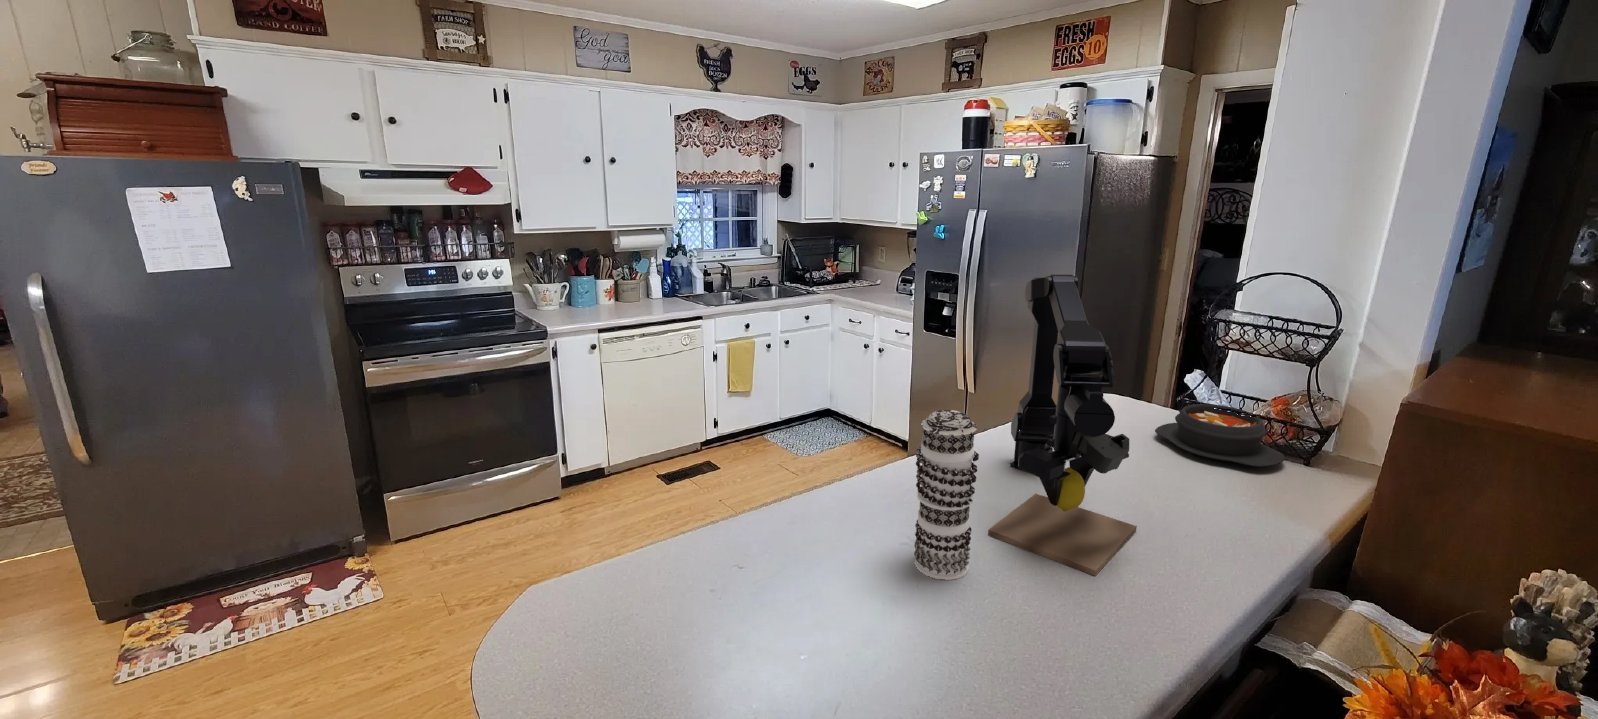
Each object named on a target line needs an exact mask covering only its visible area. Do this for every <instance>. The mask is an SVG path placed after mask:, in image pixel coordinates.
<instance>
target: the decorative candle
mask: <svg viewBox="0 0 1598 719" xmlns="http://www.w3.org/2000/svg"><path fill="white" fill-rule="evenodd" d="M920 425H921V427H922V438H921V444H920V446H919V447H917V448H916V453H915V456H916V461H915V466H916V467H917V470H916V476H915V478H916V479H917V480H916V484H915V487H916V488H917V495H916V497H917V499H918V501H919V509H918V511H917V512H918V515H917V520H916V522H915V529H916V530H915V531H916V532H915V534H914V536H915V538H916V539H915V541H914V543H913V544H914V546H913V547H914V549H915V550H914V553H913V555H914V564H915V565H916V566H915V565H914V566H915V568H916V567H917V568H916V569H918V570H919V571H920V573H921V572H922V573H924V574H925V575H926V577H928V576H931V577H933V578H932V579H934V578H935V580H939V579H945V580H944V581H952V580H958V579H960V578H962V577H965V575H967V573H968V572H969V571H970V570H969V564H970V562H969V560H970V559H971V557H970V552H969V551H971V547H970V546H969V545H970V544H971V540H972V537H971V534H972V533H971V532H972V530H973V529H972V527H971V525H970V523H971V516H970V506H971V504H972V503H973V502H974V497H973V496H974V494H975V493H976V492H975V490H976V489H975V487H974V486H973V483H976V482H977V476H976V475H975V473H977V472H978V465H976V464H975V463H974V462H976V461H978V460H980V454H979V453H978V452H977V451H976V450H975V443H974V441H975V440H974V439H975V432H976V431H977V430H978V425H977V424H976V423H975V422H973V421H972V420H971V418H970V417H969V415H967V414H966V413H963V412H961V411H958V410H953V409H951V410H950V409H941V410H935V411H933V412H932V413H930V414H929V416H927V417H926V418H925V419H923V420H922V421H921V424H920ZM972 461H973V462H972ZM921 464H922V465H921ZM918 570H917V571H918ZM919 571H918V572H919ZM922 573H921V574H922ZM924 574H923V575H924ZM925 575H924V576H925ZM931 577H930V578H931Z"/></svg>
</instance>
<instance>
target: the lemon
mask: <svg viewBox="0 0 1598 719" xmlns="http://www.w3.org/2000/svg"><path fill="white" fill-rule="evenodd" d="M1065 471H1066V472H1068V473H1070V474H1071V475H1070V476H1068V477H1066V478H1065V479H1063V482H1062V487H1061V492H1060V497H1059V501H1058V504H1057V505H1056V506H1057V507H1059V508H1061V509H1062V510H1063V511H1064V512H1067V511H1068V510H1072V509H1075V508H1077V507H1079V506H1081V505H1082V503H1083V501H1084V498H1085V494H1086V486H1085V485H1084V480H1083V478H1082V476H1081V475H1080V474H1079V473H1078V472H1077V471H1075V470H1073V469H1072V468H1070V466H1068V467H1065Z"/></svg>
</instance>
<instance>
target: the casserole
mask: <svg viewBox="0 0 1598 719" xmlns="http://www.w3.org/2000/svg"><path fill="white" fill-rule="evenodd" d="M1216 407H1218V408H1223V409H1231V410H1237V411H1241V412H1246V413H1248V414H1250V415H1253V414H1254V413H1253V412H1249V411H1246V410H1243V409H1240V408H1235V407H1232V406H1225V405H1220V404H1209V403H1208V404H1207V403H1199V404H1189V405H1186V406H1184V407H1182V409H1180V412H1178V414H1176V415H1175V416H1174V420H1175V422H1170V423H1165V424H1161V425H1159V426H1158V427H1156V428H1155V429H1154V432H1155V434H1156V435H1158V436H1159V437H1162V438H1163V439H1165V440H1168V441H1169V442H1171V443H1172V444H1174V445H1175V446H1176V447H1178V448H1180V449H1182V450H1184V451H1186V452H1189V453H1191V454H1193V455H1196V456H1199V457H1202V458H1204V459H1205V458H1206V459H1209V460H1210V459H1211V460H1214V461H1215V460H1216V461H1222V462H1233V463H1237V464H1241V465H1245V466H1248V467H1249V466H1250V467H1257V468H1263V467H1264V468H1265V467H1272V466H1276V465H1279V464H1281V463H1283V462H1284V461H1285V455H1284V454H1283V453H1282V452H1280V451H1278V450H1277V449H1274V448H1272V447H1270V446H1267V445H1265V444H1264V443H1262V442H1261V441H1262V439H1263V437H1265V436H1267V433H1268V431H1267V429H1266V427H1264V422H1263V420H1262V418H1261V417H1259V416H1258V417H1259V418H1258V417H1250V416H1241V415H1237V414H1236V413H1233V412H1227V411H1226V410H1219V409H1214V408H1216ZM1260 418H1261V419H1260ZM1261 443H1262V444H1261Z"/></svg>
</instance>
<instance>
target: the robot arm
mask: <svg viewBox="0 0 1598 719" xmlns="http://www.w3.org/2000/svg"><path fill="white" fill-rule="evenodd" d="M1078 289H1079V279H1078V276H1077V275H1073V274H1060V273H1059V274H1058V273H1057V274H1055V273H1052V274H1050V275H1046V276H1044V277H1033V278H1032V279H1030V280H1029V281H1028V282H1027V283H1026V285H1025V292H1024V295H1025V296H1024V297H1025V302H1027V307H1026V308H1027V309H1028V310H1029V311H1028V312H1030V314H1031V316H1032V318H1033V321H1034V323H1033V324H1034V325H1033V327H1034V328H1033V335H1032V336H1033V337H1032V347H1031V359H1030V369H1029V380H1028V381H1029V382H1028V388H1027V389H1028V391H1027V392H1026V394H1024V396H1023V397H1022V398H1021V399H1020V401H1018V408H1017V412H1015V414H1014V415H1013V417H1012V420H1011V422H1010V434H1011V437H1012V439H1013V441H1014V442H1015V444H1014V457H1013V461H1011V462H1010V463H1009V466H1010V467H1013V468H1016V469H1019V470H1023V471H1025V472H1027V473H1029V474H1032V475H1034V476H1035V477H1038V478H1039V480H1040V483H1041V485H1042V486H1043V489H1044V491H1045V493H1046V497H1048V499H1049V501H1050V503H1051V504H1052V505H1054V506H1056V505H1057V504H1058V501H1059V497H1060V492H1061V487H1062V482H1063V479H1065V478H1066V477H1068V476H1070V475H1071V474H1070V473H1068V472H1066V471H1065V468H1066V465H1067V462H1068V465H1069V467H1070V468H1072V469H1073V470H1075V471H1077V472H1078V473H1079V474H1080V475H1081V476H1082V478H1083V480H1084V485H1085V487H1086V485H1087V484H1088V482H1089V480H1090V477H1091V476H1092V473H1093V472H1094V470H1095V471H1096V472H1097V473H1100V474H1104V475H1105V474H1108V473H1109V472H1111V471H1113V470H1118V468H1119V467H1120V465H1121V464H1122V461H1123V460H1126V459H1128V458H1129V457H1130V454H1129V452H1130V438H1129V437H1128V436H1127V435H1125V434H1124V433H1121V434H1117V435H1115V436H1113V435H1111V434H1107V433H1108V432H1109V431H1110V430H1111V429H1112V428H1113V426H1114V424H1115V420H1116V416H1115V411H1114V410H1113V408H1112V406H1111V405H1110V404H1109V403H1108V401H1106V400H1105V398H1104V392H1103V390H1102V389H1103V388H1113V385H1114V384H1113V381H1114V379H1115V377H1116V374H1115V368H1114V363H1113V358H1112V352H1111V351H1110V347H1109V346H1108V344H1106V341H1105V339H1104V337H1103V336H1102V333H1101V332H1100V331H1099V330H1098V329H1096V328H1094V326H1091V325H1090V323H1089V322H1088V319H1087V315H1086V313H1085V310H1084V306H1083V302H1082V299H1081V296H1080V294H1079V290H1078ZM1100 373H1101V374H1102V375H1099V374H1100ZM1093 374H1094V375H1093ZM1095 374H1096V375H1095ZM1055 375H1056V381H1057V384H1058V386H1057V387H1058V388H1057V396H1056V397H1057V398H1056V402H1055V401H1054V398H1053V389H1054V380H1055Z"/></svg>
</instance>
